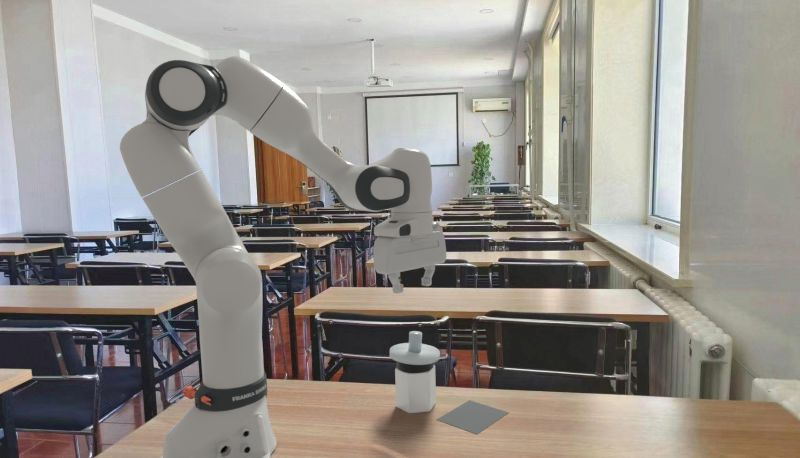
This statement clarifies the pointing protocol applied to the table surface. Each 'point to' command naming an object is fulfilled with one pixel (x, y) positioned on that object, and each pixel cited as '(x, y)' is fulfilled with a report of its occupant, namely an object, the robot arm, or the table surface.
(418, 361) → the lid
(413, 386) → the jar
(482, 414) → the mat
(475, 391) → the table surface
